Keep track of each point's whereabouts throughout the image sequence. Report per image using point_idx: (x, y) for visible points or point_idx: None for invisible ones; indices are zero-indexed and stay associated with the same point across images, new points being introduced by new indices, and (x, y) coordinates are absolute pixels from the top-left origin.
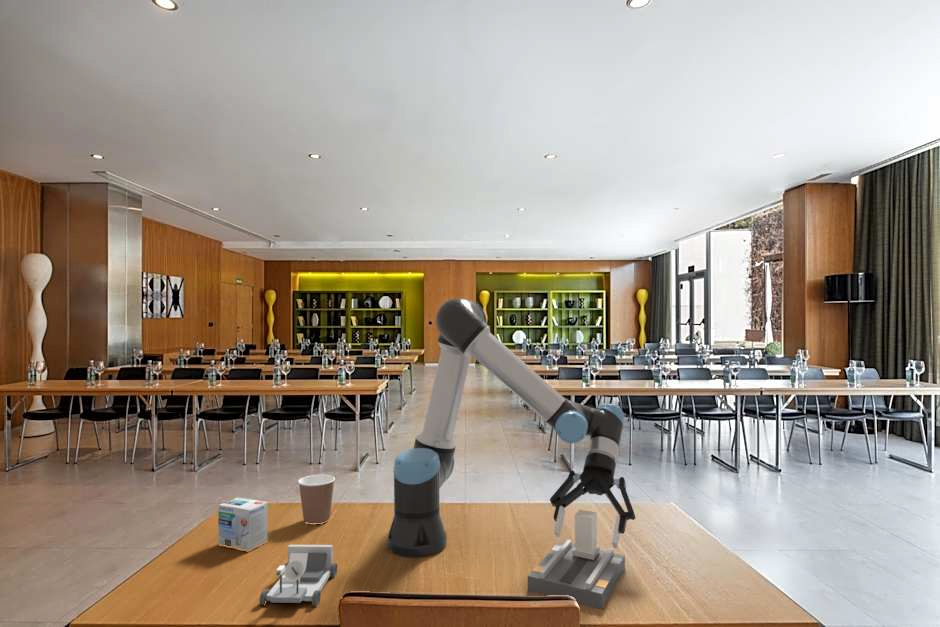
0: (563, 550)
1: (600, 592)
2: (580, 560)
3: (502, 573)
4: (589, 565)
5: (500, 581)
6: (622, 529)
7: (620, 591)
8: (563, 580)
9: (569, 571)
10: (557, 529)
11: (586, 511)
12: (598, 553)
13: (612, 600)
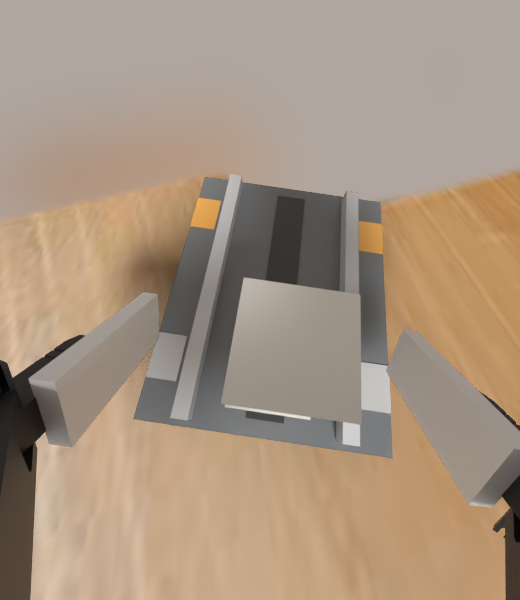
0: None
1: (208, 181)
2: None
3: (449, 273)
4: None
5: (432, 239)
6: (75, 338)
7: (171, 275)
8: (296, 202)
9: (294, 245)
10: (409, 336)
11: (301, 398)
12: None
13: None
